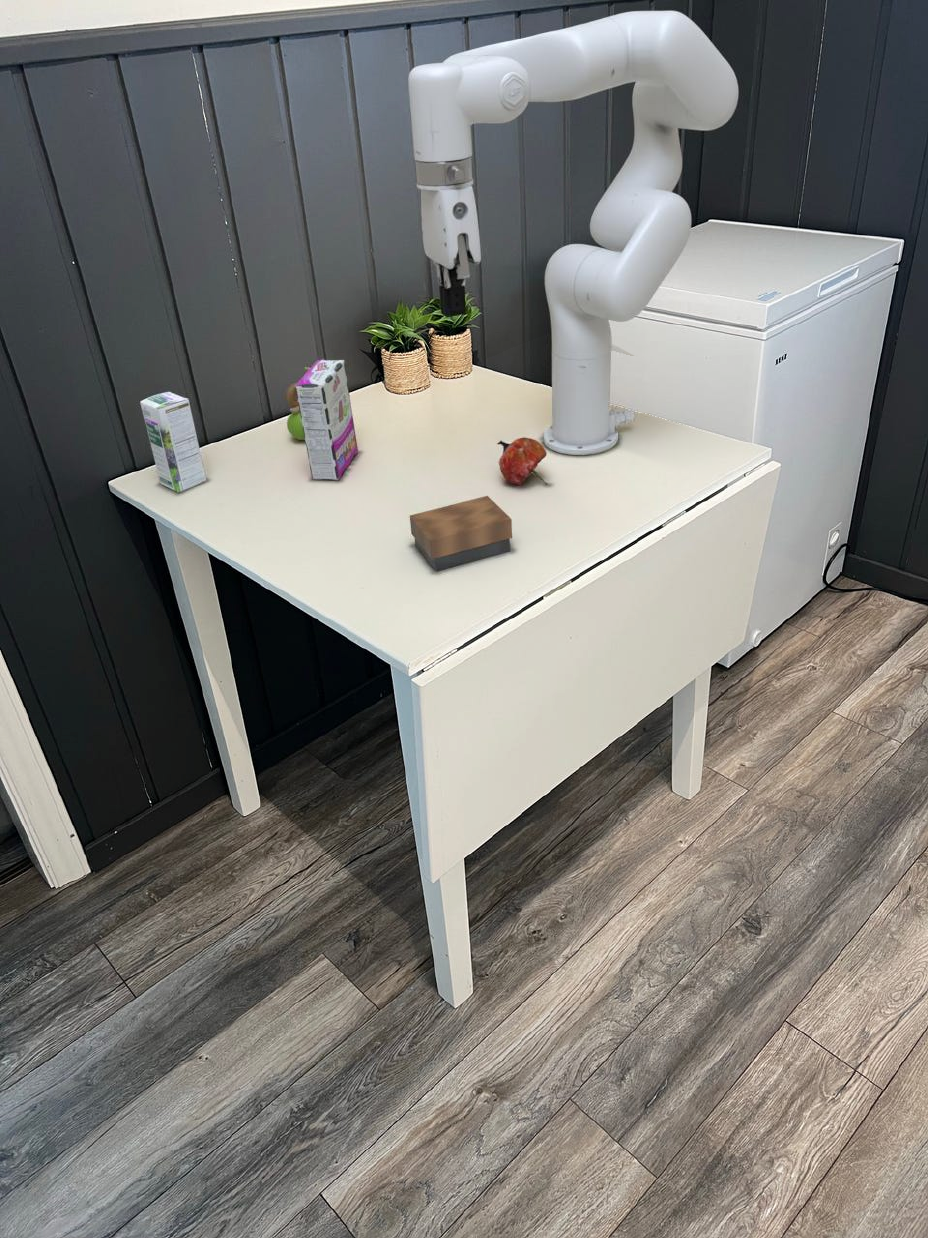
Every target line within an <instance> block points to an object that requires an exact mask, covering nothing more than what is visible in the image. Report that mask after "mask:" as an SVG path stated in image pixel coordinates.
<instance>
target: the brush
mask: <svg viewBox="0 0 928 1238" xmlns="http://www.w3.org/2000/svg"><path fill="white" fill-rule="evenodd" d="M512 521H513V519H512V518H511V516H509V515H508V513H507V512H506V511H504V510H503V509H502V508H501V507H500V506H499V505H498V504H497V503H496V502H495V501H494V500H492V498H491V497H489V495H485V496H480V497H477V498H473V499H469V500H464V501H461V502H457V503H453V504H449V505H445V506H442V507H437V508H433V509H430V510H426V511H422V512H418V513H414V514H409V524H410V525H409V526H410V534H411V536H412V537H413V538H414V546H415V547H416V548H417V549H418V551H419V552H420V553H421V555H422V556H423V557H424V558H425V560H426V561H427V562H428V563H429V565H430V566H431V567H432V568H433V570H434V571H435V572H439V571H443V570H446V569H450V568H453V567H457V566H462V565H464V564H468V563H472V562H476V561H479V560H483V559H487V558H489V557H494V556H497V555H501V554H504V553H509V552H511V540H510V539H512V538H513V523H512Z"/></svg>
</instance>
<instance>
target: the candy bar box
mask: <svg viewBox="0 0 928 1238" xmlns="http://www.w3.org/2000/svg"><path fill="white" fill-rule="evenodd" d="M309 368H310V369H309V371H308V370H307V372H306V373H305V374H304V375H302V377H301V378H300V380H299V381H298V382H296V383H297V384H296V385H295V388H296V394H297V398H298V404H299V410H300V415H301V420H302V426H303V430H304V436H305V440H304V442H305V446H306V453H307V457H308V463H309V468H310V473H311V474H310V475H311V478H312V480H316V481H340V479H341V478H342V476H343V475H344V474H345V472H346V470H347V469H348V467H349V466H350V465H351V463H352V461H353V460H354V459H355V457H356V456H357V454H358V453H359V449H358V442H357V435H356V430H355V423H354V422H355V421H354V417H353V416H354V415H353V410H352V403H351V397H350V389H349V384H348V377H347V376H348V375H347V371H346V369H347V368H346V362H345V359H317V360H316V361H315V362H314V363H313V365H312V366H311V367H309Z"/></svg>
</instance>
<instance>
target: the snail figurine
mask: <svg viewBox="0 0 928 1238" xmlns="http://www.w3.org/2000/svg"><path fill="white" fill-rule="evenodd" d="M310 368H311V367H310V366H309V367H307V366H305V367H304V370H305V372H306V373H307V372H308V371H309V369H310ZM297 383H298V382H294V383H291V384H290V385H289V386H288V388H287V390H286V393H285V394H286V395H285V399H286V403H287V404H288V405H289V407H290V408H289V412H291V413H290V415H289V416H288V418H287V421H286V428H287V431H288V433H289V434H290V435H291V437H293V438H294V439H296V440H298V441H305V436H304V430H303V426H302V420H301V415H300V410H299V404H298V398H297V394H296V388H295V385H296V384H297Z"/></svg>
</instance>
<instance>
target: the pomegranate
mask: <svg viewBox="0 0 928 1238" xmlns="http://www.w3.org/2000/svg"><path fill="white" fill-rule="evenodd" d="M497 445H501V446H502V448H503V449H502V455H501V456H500V458H499V460H498V466H499V472H500V473H501V476H503V478H504V479H505V480H506V481H507V482H508V483H510V484H513V485H515V486H519V485H520V486H521V485H522V484H523V483H524V482H525V481H526V479H527V477H528V476H530V475H531V473H532V474H533V475H534V476H535V477H536V478H538V479H540V480H541V481H542V482H543V484H545V485H548V483H547V482H546V481H545V480H544V479H543V477H541V476H540V475H539V474H538V473H537V472H536V471H535V469H536V468H537V467H538V465H539V463H541V462H542V461H543V460H544V459H545V458H546V457H547V453H548V452H547V450H546V449H545V448H544V446H543V445H542V444H541V443H540V442H539V441H538V440H536V439H534V438H531V437H524V436H523V437H519V438H516V439H515V440H513V441H512V442H511V443H507V442H505V441H503V440H501V439H500V440H499V442H497Z"/></svg>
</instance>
